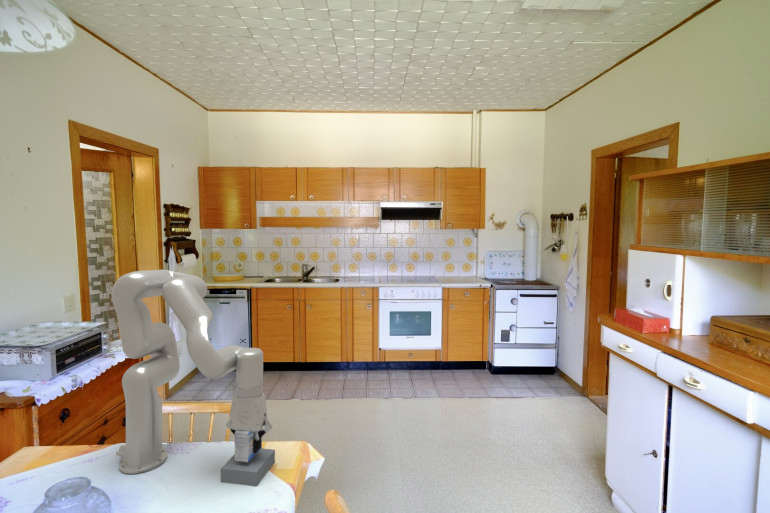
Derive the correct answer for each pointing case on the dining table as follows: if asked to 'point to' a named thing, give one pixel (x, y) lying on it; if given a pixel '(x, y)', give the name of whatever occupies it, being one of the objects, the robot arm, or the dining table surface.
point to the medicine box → (244, 445)
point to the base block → (248, 468)
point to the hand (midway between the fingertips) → (248, 449)
